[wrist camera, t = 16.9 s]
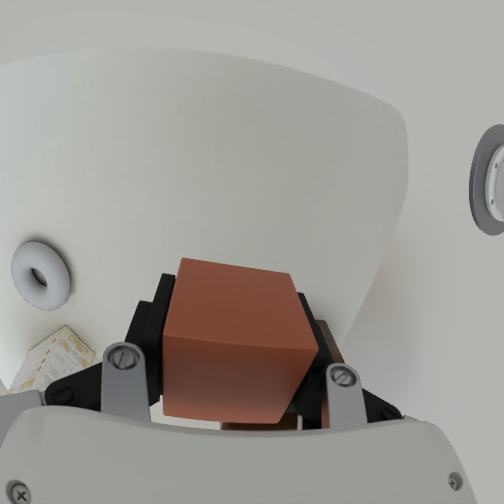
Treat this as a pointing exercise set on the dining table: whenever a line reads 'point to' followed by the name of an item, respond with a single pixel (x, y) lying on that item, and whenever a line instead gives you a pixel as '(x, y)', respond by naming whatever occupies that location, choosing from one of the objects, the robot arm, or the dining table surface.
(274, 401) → the block
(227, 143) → the dining table surface
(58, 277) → the donut
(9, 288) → the dining table surface
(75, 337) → the coffeecake box
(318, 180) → the dining table surface
